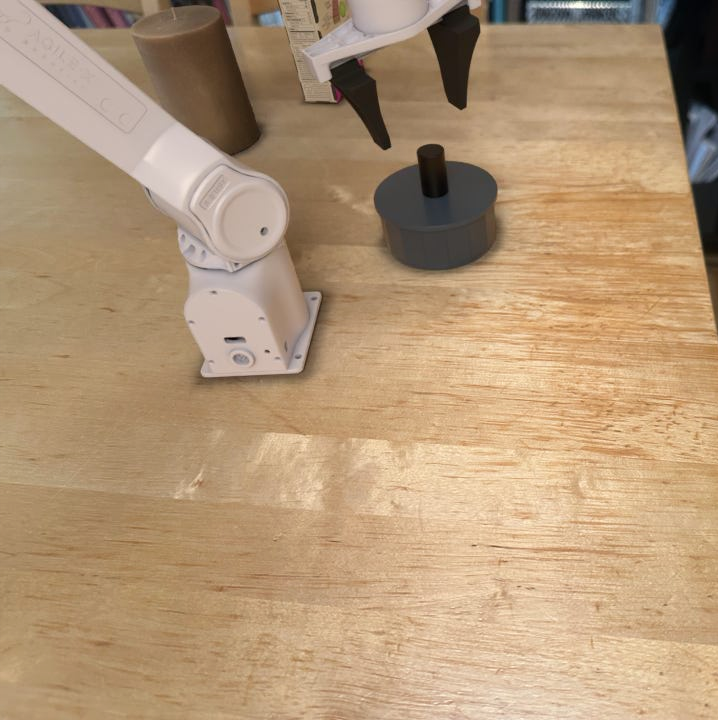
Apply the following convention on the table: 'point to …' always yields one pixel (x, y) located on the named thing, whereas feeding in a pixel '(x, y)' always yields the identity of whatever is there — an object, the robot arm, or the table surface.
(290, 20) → the candy bar box
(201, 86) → the pillar candle
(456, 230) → the pot
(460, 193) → the lid
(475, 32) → the robot arm
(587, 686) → the table surface
